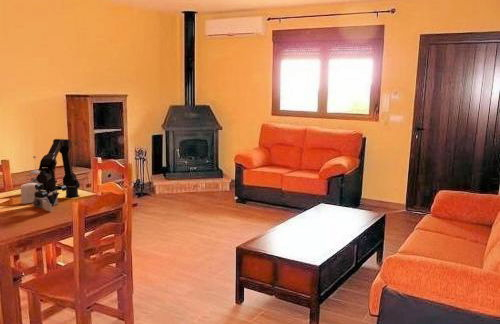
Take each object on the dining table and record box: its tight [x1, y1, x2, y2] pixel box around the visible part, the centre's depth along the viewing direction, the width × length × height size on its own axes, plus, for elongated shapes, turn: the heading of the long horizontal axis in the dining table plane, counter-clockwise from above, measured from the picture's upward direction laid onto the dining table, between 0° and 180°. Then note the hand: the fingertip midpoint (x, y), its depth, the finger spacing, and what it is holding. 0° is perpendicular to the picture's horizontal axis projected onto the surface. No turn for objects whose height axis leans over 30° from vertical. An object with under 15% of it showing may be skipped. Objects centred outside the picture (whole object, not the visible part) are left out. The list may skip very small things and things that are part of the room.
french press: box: [25, 155, 45, 191], centre depth 289 cm, size 10×12×25 cm
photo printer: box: [20, 182, 38, 205], centre depth 265 cm, size 10×4×12 cm, turn 123°
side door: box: [42, 200, 53, 212], centre depth 250 cm, size 10×2×5 cm, turn 50°
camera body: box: [32, 196, 59, 210], centre depth 259 cm, size 12×8×6 cm
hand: (52, 205), depth 249 cm, fingers closed
